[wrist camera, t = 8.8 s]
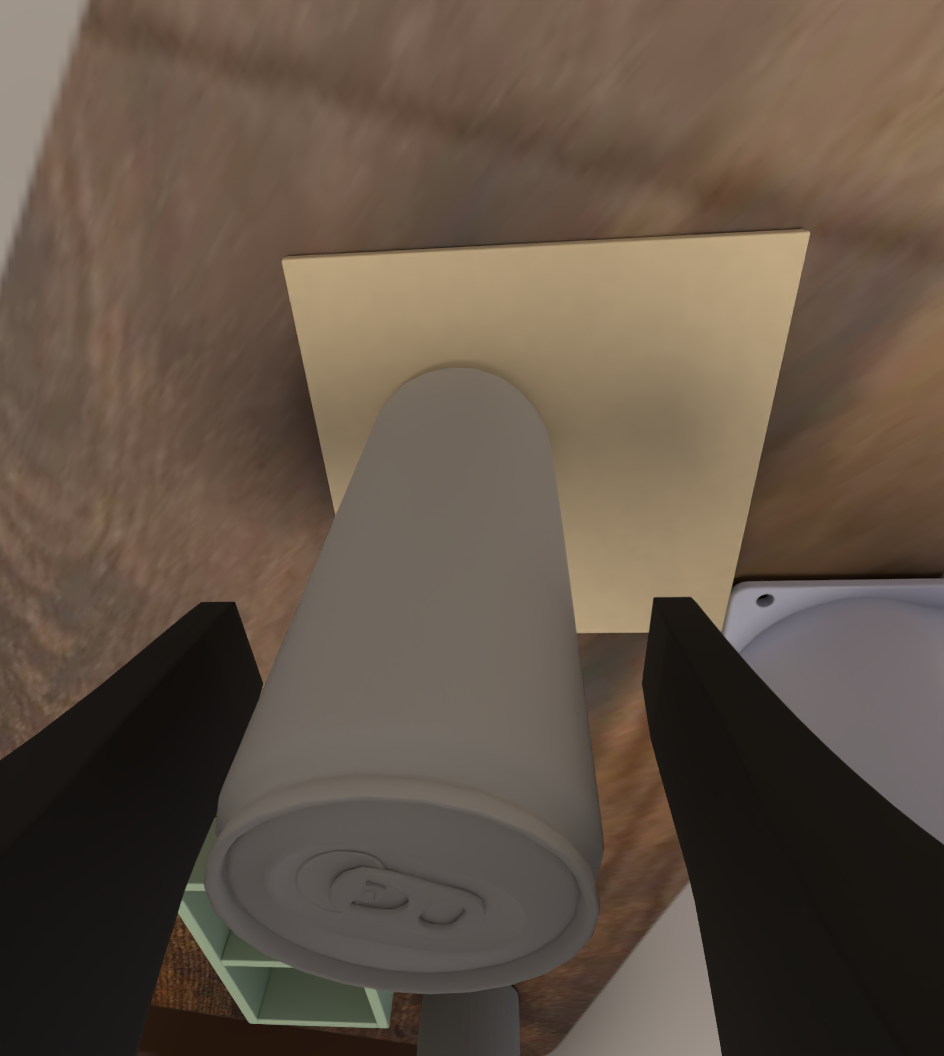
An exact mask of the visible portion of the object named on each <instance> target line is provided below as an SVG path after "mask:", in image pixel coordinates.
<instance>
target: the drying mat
mask: <svg viewBox="0 0 944 1056" xmlns="http://www.w3.org/2000/svg"><path fill="white" fill-rule="evenodd" d="M809 237H810V232H809V231H807V230H805V229H792V230H773V231H754V232H735V233H716V234H698V235H679V236H660V237H641V238H622V239H603V240H584V241H566V242H547V243H528V244H509V245H490V246H471V247H452V248H434V249H415V250H396V251H377V252H358V253H339V254H321V255H302V256H287V257H285V258H283V259H282V265H283V270H284V275H285V280H286V284H287V289H288V294H289V298H290V303H291V308H292V313H293V317H294V322H295V327H296V332H297V336H298V341H299V346H300V350H301V355H302V360H303V365H304V369H305V374H306V379H307V384H308V388H309V393H310V398H311V402H312V407H313V412H314V417H315V421H316V426H317V431H318V436H319V440H320V445H321V450H322V455H323V459H324V464H325V469H326V473H327V478H328V483H329V488H330V492H331V497H332V502H333V507H334V511H335V516H336V514H337V511H338V509H339V506H340V504H341V502H342V499H343V497H344V495H345V492H346V490H347V487H348V485H349V483H350V480H351V478H352V475H353V473H354V471H355V468H356V466H357V463H358V461H359V459H360V456H361V454H362V451H363V449H364V447H365V444H366V442H367V439H368V437H369V435H370V432H371V430H372V427H373V425H374V423H375V420H376V418H377V417H378V415H379V413H380V411H381V410H382V408H383V406H384V404H385V403H386V401H387V400H388V399H389V398H390V397H391V396H392V395H393V394H394V393H395V392H396V391H397V390H398V389H399V388H400V387H401V386H402V385H403V384H405V383H407V382H409V381H411V380H413V379H415V378H417V377H419V376H421V375H422V374H424V373H427V372H432V371H436V370H441V369H445V368H450V367H454V368H476V369H479V370H482V371H485V372H488V373H491V374H495V375H498V376H500V377H502V378H503V379H504V380H506V381H507V382H509V383H510V384H511V385H513V386H514V387H516V388H517V389H518V390H520V391H521V392H522V393H523V395H524V396H525V397H526V398H527V399H528V400H529V402H530V403H531V404H532V405H533V406H534V408H535V409H536V410H537V412H538V414H539V416H540V418H541V419H542V421H543V423H544V425H545V427H546V429H547V432H548V436H549V441H550V445H551V450H552V456H553V462H554V469H555V476H556V483H557V489H558V496H559V503H560V510H561V518H562V525H563V532H564V539H565V547H566V554H567V562H568V569H569V577H570V584H571V592H572V600H573V607H574V615H575V623H576V630H577V633H643V632H649V627H650V619H651V612H652V604H653V597H692V598H693V599H694V600H695V601H696V602H697V603H698V605H699V606H700V607H701V608H702V610H703V611H704V612H705V613H706V615H707V616H708V617H709V618H710V619H711V621H712V622H713V623H714V624H715V626H716V627H717V628H718V629H719V630H720V632H721V631H722V629H723V625H724V620H725V615H726V611H727V606H728V602H729V597H730V593H731V588H732V584H733V579H734V575H735V570H736V566H737V561H738V557H739V552H740V548H741V543H742V539H743V534H744V530H745V525H746V521H747V516H748V512H749V507H750V503H751V498H752V494H753V489H754V485H755V480H756V476H757V471H758V467H759V462H760V458H761V453H762V449H763V444H764V440H765V435H766V431H767V426H768V422H769V417H770V413H771V408H772V403H773V399H774V394H775V390H776V385H777V381H778V376H779V372H780V367H781V363H782V358H783V354H784V349H785V345H786V340H787V336H788V331H789V327H790V322H791V318H792V313H793V309H794V304H795V300H796V295H797V291H798V286H799V282H800V277H801V273H802V268H803V264H804V259H805V255H806V250H807V246H808V241H809Z"/></svg>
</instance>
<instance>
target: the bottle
mask: <svg viewBox="0 0 944 1056" xmlns="http://www.w3.org/2000/svg"><path fill="white" fill-rule="evenodd" d="M417 1056H520V1030H519V1000H518V994H517V991H516V990H515V989H514V988H513V987H512V986H511V985H510V986H504V987H499V988H493V989H487V990H481V991H475V992H465V993H444V994H423V999H422V1008H421V1018H420V1028H419V1037H418V1047H417Z"/></svg>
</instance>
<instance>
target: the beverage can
mask: <svg viewBox="0 0 944 1056" xmlns="http://www.w3.org/2000/svg"><path fill="white" fill-rule="evenodd" d="M215 834H216V837H217V840H216V841H215V842H214V844H213V845H212V847H211V849H210V851H209V853H208V855H207V859H206V870H205V880H204V888H205V890H206V893H207V895H208V898H209V900H210V902H211V905H212V907H213V910H214V912H215V913H216V914H217V915H218V916H219V918H220V919H221V920H222V921H223V922H224V923H225V924H226V925H227V926H228V927H229V928H230V929H231V930H232V931H233V932H234V934H235V935H236V936H238V937H239V938H241V939H242V940H244V941H245V942H247V943H248V944H250V945H251V946H253V947H254V948H256V949H257V950H259V951H260V952H262V953H263V954H265V955H266V956H268V957H271V958H273V959H275V960H277V961H280V962H282V963H284V964H286V965H289V966H291V967H293V968H295V969H298V970H300V971H302V972H305V973H308V974H312V975H315V976H318V977H322V978H325V979H329V980H332V981H335V982H339V983H342V984H347V985H352V986H358V987H364V988H370V989H375V990H381V991H388V992H403V993H418V994H444V993H465V992H475V991H481V990H487V989H493V988H499V987H504V986H510V985H513V984H516V983H519V982H522V981H525V980H528V979H531V978H534V977H537V976H540V975H543V974H546V973H548V972H549V971H551V970H553V969H554V968H556V967H558V966H559V965H561V964H563V963H565V962H566V961H568V960H570V959H571V958H573V957H574V956H575V955H576V954H577V953H578V952H579V951H580V949H581V948H582V947H583V946H584V945H585V944H586V943H587V942H588V940H589V939H590V938H591V937H592V936H593V933H594V929H595V926H596V922H597V919H598V915H599V911H600V901H599V897H598V893H597V889H596V886H595V883H596V880H597V876H598V872H599V868H600V864H601V860H602V856H603V850H604V841H603V831H602V823H601V815H600V807H599V800H598V792H597V784H596V777H595V769H594V761H593V754H592V746H591V738H590V730H589V723H588V715H587V707H586V700H585V692H584V684H583V677H582V669H581V661H580V653H579V646H578V638H577V630H576V623H575V615H574V607H573V600H572V592H571V584H570V577H569V569H568V562H567V554H566V547H565V539H564V532H563V525H562V518H561V510H560V503H559V496H558V489H557V483H556V476H555V469H554V462H553V456H552V450H551V445H550V441H549V436H548V432H547V429H546V427H545V425H544V423H543V421H542V419H541V418H540V416H539V414H538V412H537V410H536V409H535V408H534V406H533V405H532V404H531V403H530V402H529V400H528V399H527V398H526V397H525V396H524V395H523V393H522V392H521V391H520V390H518V389H517V388H516V387H514V386H513V385H511V384H510V383H509V382H507V381H506V380H504V379H503V378H502V377H500V376H498V375H495V374H491V373H488V372H485V371H482V370H479V369H476V368H454V367H450V368H445V369H441V370H436V371H432V372H427V373H424V374H422V375H421V376H419V377H417V378H415V379H413V380H411V381H409V382H407V383H405V384H403V385H402V386H401V387H400V388H399V389H398V390H397V391H396V392H395V393H394V394H393V395H392V396H391V397H390V398H389V399H388V400H387V401H386V403H385V404H384V406H383V408H382V410H381V411H380V413H379V415H378V417H377V418H376V420H375V423H374V425H373V427H372V430H371V432H370V435H369V437H368V439H367V442H366V444H365V447H364V449H363V451H362V454H361V456H360V459H359V461H358V463H357V466H356V468H355V471H354V473H353V475H352V478H351V480H350V483H349V485H348V487H347V490H346V492H345V495H344V497H343V499H342V502H341V504H340V506H339V509H338V511H337V514H336V516H335V518H334V521H333V523H332V526H331V528H330V530H329V533H328V535H327V538H326V540H325V542H324V545H323V547H322V550H321V552H320V554H319V557H318V559H317V562H316V564H315V566H314V569H313V571H312V574H311V576H310V578H309V581H308V583H307V586H306V588H305V590H304V593H303V595H302V597H301V600H300V602H299V605H298V607H297V609H296V612H295V614H294V617H293V619H292V621H291V624H290V626H289V629H288V631H287V633H286V636H285V638H284V641H283V643H282V645H281V648H280V650H279V653H278V655H277V657H276V660H275V662H274V665H273V667H272V669H271V672H270V674H269V677H268V679H267V681H266V684H265V686H264V689H263V691H262V693H261V696H260V698H259V700H258V703H257V705H256V708H255V710H254V712H253V715H252V717H251V720H250V722H249V724H248V727H247V729H246V732H245V734H244V736H243V739H242V741H241V744H240V746H239V748H238V751H237V753H236V756H235V758H234V760H233V763H232V765H231V768H230V770H229V772H228V775H227V777H226V780H225V782H224V784H223V787H222V790H221V793H220V795H219V801H218V809H217V819H216V828H215Z"/></svg>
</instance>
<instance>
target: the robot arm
mask: <svg viewBox="0 0 944 1056" xmlns="http://www.w3.org/2000/svg"><path fill="white" fill-rule="evenodd" d="M765 594H769V595H768V596H767V597H765V598H762V599H758V598H759V597H760V596H762V595H765ZM262 686H263V682H262V679H261V676H260V673H259V670H258V667H257V664H256V661H255V659H254V656H253V653H252V650H251V647H250V644H249V641H248V638H247V636H246V633H245V630H244V627H243V624H242V621H241V618H240V615H239V612H238V610H237V607H236V604H235V602H201V603H200V604H198V605H197V606H196V607H194V608H193V609H192V610H191V611H189V612H188V613H187V614H186V615H184V616H183V617H182V618H181V619H179V620H178V621H177V622H176V623H175V624H173V625H172V626H171V627H170V628H169V629H167V630H166V631H165V632H164V633H163V634H161V635H160V636H159V637H158V638H157V639H155V640H154V641H153V642H152V643H151V644H149V645H148V646H147V647H146V648H145V649H144V650H142V651H141V652H140V653H139V654H138V655H136V656H135V657H134V658H133V659H131V660H130V661H129V662H128V663H127V664H125V665H124V666H123V667H122V668H121V669H119V670H118V671H117V672H116V673H115V674H113V675H112V676H111V677H110V678H109V679H107V680H106V681H105V682H104V683H102V684H101V685H100V686H99V687H98V688H96V689H95V690H94V691H92V692H91V693H90V694H89V695H87V696H86V697H85V698H83V699H82V700H81V701H79V702H78V703H77V704H76V705H74V706H73V707H72V708H70V709H69V710H68V711H66V712H65V713H64V714H63V715H61V716H60V717H59V718H57V719H56V720H55V721H53V722H52V723H51V724H50V725H48V726H47V727H46V728H44V729H43V730H42V731H40V732H39V733H38V734H37V735H35V736H34V737H32V738H31V739H30V740H28V741H27V742H25V743H24V744H23V745H21V746H20V747H18V748H17V749H16V750H14V751H13V752H11V753H10V754H8V755H7V756H6V757H4V758H3V759H1V760H0V1056H136V1055H137V1052H138V1047H139V1043H140V1040H141V1036H142V1032H143V1028H144V1025H145V1021H146V1017H147V1014H148V1010H149V1007H150V1004H151V1000H152V997H153V993H154V990H155V986H156V983H157V979H158V976H159V973H160V969H161V966H162V962H163V959H164V955H165V952H166V949H167V946H168V942H169V939H170V936H171V933H172V930H173V927H174V924H175V920H176V917H177V914H178V911H179V908H180V905H181V902H182V898H183V895H184V892H185V889H186V886H187V884H188V881H189V879H190V876H191V873H192V871H193V868H194V865H195V863H196V860H197V858H198V855H199V853H200V851H201V848H202V846H203V844H204V841H205V839H206V837H207V834H208V832H209V830H210V827H211V825H212V823H213V820H214V818H215V816H216V813H217V809H218V801H219V795H220V793H221V790H222V787H223V784H224V782H225V780H226V777H227V775H228V772H229V770H230V768H231V765H232V763H233V760H234V758H235V756H236V753H237V751H238V748H239V746H240V744H241V741H242V739H243V736H244V734H245V732H246V729H247V727H248V724H249V722H250V720H251V717H252V715H253V712H254V710H255V708H256V705H257V703H258V700H259V697H260V693H261V690H262ZM642 686H643V693H644V699H645V706H646V713H647V719H648V725H649V731H650V737H651V742H652V745H653V749H654V753H655V756H656V760H657V764H658V767H659V771H660V775H661V778H662V782H663V785H664V789H665V793H666V796H667V800H668V803H669V807H670V810H671V814H672V817H673V821H674V825H675V828H676V832H677V835H678V839H679V842H680V846H681V849H682V853H683V857H684V860H685V864H686V867H687V871H688V875H689V879H690V883H691V888H692V892H693V896H694V900H695V905H696V911H697V916H698V921H699V927H700V932H701V937H702V943H703V948H704V954H705V959H706V964H707V970H708V976H709V982H710V988H711V993H712V999H713V1005H714V1011H715V1016H716V1022H717V1028H718V1034H719V1040H720V1046H721V1052H722V1056H944V578H934V579H868V580H802V581H747V582H741V583H739V584H737V585H735V586H734V587H733V588H732V589H731V593H730V597H729V602H728V606H727V611H726V615H725V620H724V625H723V629H722V631H721V632H720V630H719V629H718V628H717V627H716V626H715V624H714V623H713V622H712V621H711V619H710V618H709V617H708V616H707V615H706V613H705V612H704V611H703V610H702V608H701V607H700V606H699V605H698V603H697V602H696V601H695V600H694V599H693V598H692V597H653V604H652V612H651V619H650V627H649V634H648V642H647V649H646V657H645V665H644V672H643V680H642Z"/></svg>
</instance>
